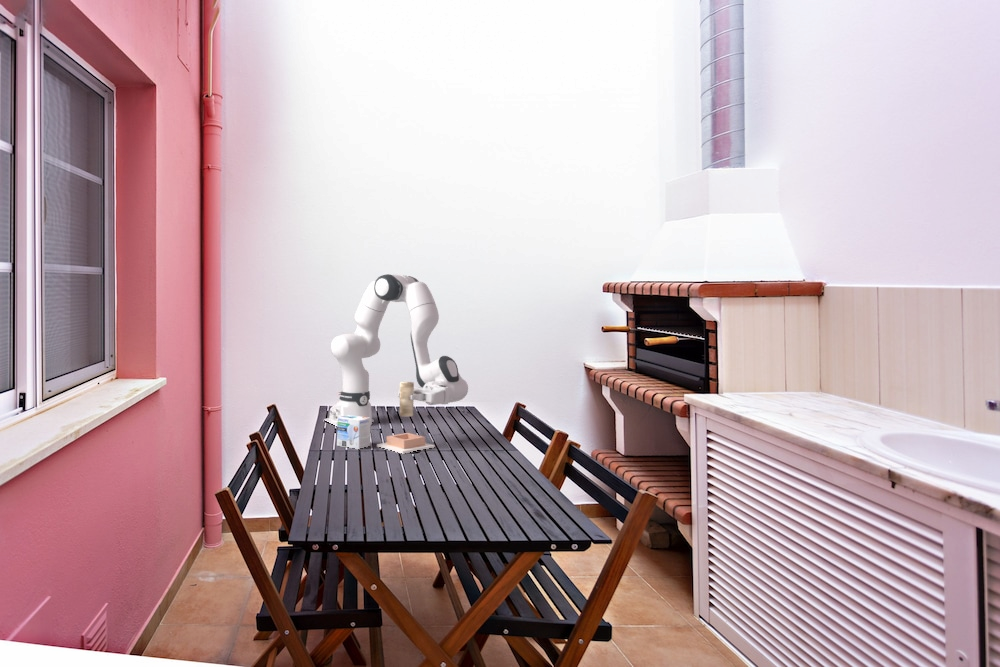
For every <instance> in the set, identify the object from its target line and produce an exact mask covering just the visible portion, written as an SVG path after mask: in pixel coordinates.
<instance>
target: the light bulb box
mask: <svg viewBox="0 0 1000 667" xmlns="http://www.w3.org/2000/svg"><path fill="white" fill-rule="evenodd" d="M371 426H372V425H371V418H368V417H361V416H353V415H346V416H342V417H338V424H337V427H336V428H337V430H336V432H337V433H336V436H337V437H336V446H337V447H342V448H347V447H349V448H348V449H352V448H355V449H354V450H358V449H359V450H361V449H360V448H363V449H365V448H364V447H366V448H369V447H368V446H370V447H371V428H372V427H371Z"/></svg>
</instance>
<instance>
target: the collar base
mask: <svg viewBox="0 0 1000 667" xmlns="http://www.w3.org/2000/svg"><path fill="white" fill-rule="evenodd" d="M379 447H381V448H380V449H382V448H385V449H384V450H386V449H388V450H387V451H390V450H392V451H391V452H393V451H395V452H394V453H397V452H398V453H399V454H401V453H402V455H405V453H406V454H411V453H414V452H413V451H416V452H418V451H417V450H421V451H424V450H423V449H426V450H430V449H429V448H432V449H435V448H436V446H435V444H431V443H429V442H426V436H423V435H418V434H415V433H411V432H405V433H399V434H393V435H387V436H386V442H382V443H377V444H376V448H379ZM434 447H435V448H434ZM410 452H411V453H410ZM398 453H397V454H398Z"/></svg>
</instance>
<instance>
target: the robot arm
mask: <svg viewBox="0 0 1000 667" xmlns="http://www.w3.org/2000/svg"><path fill="white" fill-rule="evenodd" d="M390 302H394V303H402V302H404V303H405V304H406V307H407V310H408V314H409V317H410V325H411V328H410V341H411V348H412V352H413V358H414V362H415V368H416V369H415V371H416V372H415V373H416V374H415V375H416V377H415V378H416V382H417V383H418V385H419V386H414V395H409V399H410V400H413V401H419V402H425V403H426V405H429V406H435V405H449V404H450V403H455V402H456V403H457V402H459V401H461V400H463V399H465V397H466V396H467V395H468V392H469V385H468V384H469V383H468V382H467V381H466V380H465V379H463V377H462V376H461V374H460V373H459V369H458V365H457V363H456V360H454V359H453V358H452V357H450V356H449V355H442V356H439V357H438V358H436V359H435V360H433V361H432V362H431V359H430V354H429V349H428V342H429V341H428V340H429V338H430V336H431V334H432V333H433V331H434V329H435V328H437V324H438V323H439V319H440V318H439V317H440V314H439V310H438V308H437V307H438V306H437V304H436V301H435V298H434V296H433V295H432V292H431V290H430V288H429V286H428V284H426V283H425V282H422V281H420V280H419V279H417V278H416V277H413V276H410V275H408V276H407V275H404V274H389V273H388V274H382V275H380V276H378V277H377V279H375V280H372V281H371V282H370V283H369V285H368V286H367V288H365V291H364V292H363V295H362V296H361V299H360V301H359V304H358V306H357V309H356V310H355V312H354V315H353V316H354V321H355V323H356V329H355V331H354V332H351V333H350V332H349V333H342V334H339V335H337V336H335V337H334V338H333V339H332V341H331V342H330V351H331V354H332V356H333V357H334V358H335V359H336V360H337V362H338V364H339V366H340V369H341V370H340V371H341V381H342V382H341V386H342V387H341V388H342V389H341V391H339V392H338V396H339V400H338V401H337V402H336V403H334V405H332V406H331V407H330V409H329V416H328V417H327V418H324V419H323V421H324V420H325V421H327V422H329V423H331V424H333V425H335V426H334V427H336V426H337V424H338V417H342V416H346V415H353V416H361V417H368V418H371V426H372V425H373V423H374V421H375V420H374V419H373V416H372V415H373V414H372V413H373V412H372V405H371V402H370V398H371V397H370V396H371V391H370V388H369V387H370V375H369V374H370V373H369V371H368V370H367V369H365V367H364V364H363V359H366V358H367V359H368V358H371V357H372V356H375V355H376V354H378V353H379V351H380V349H381V341H380V338H379V329H380V326H381V322H382V320H383V318H384V316H385V313H386V311H387V309H388V306H389V304H390ZM397 398H399V399H400V387H399V388H398V393H397ZM372 422H373V423H372ZM331 424H330V425H331ZM333 425H332V426H333Z"/></svg>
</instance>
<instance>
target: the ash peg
mask: <svg viewBox="0 0 1000 667" xmlns="http://www.w3.org/2000/svg"><path fill="white" fill-rule="evenodd" d="M414 387H415V382H414V381H413V382H412V381H400V382H399V388H400V398H399V416H400V417H414V400H410V399H409V395H414Z"/></svg>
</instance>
